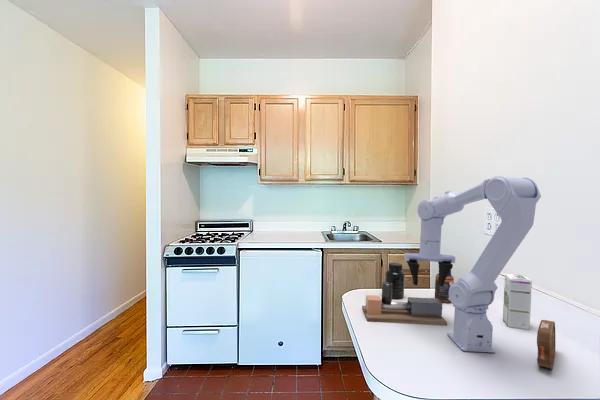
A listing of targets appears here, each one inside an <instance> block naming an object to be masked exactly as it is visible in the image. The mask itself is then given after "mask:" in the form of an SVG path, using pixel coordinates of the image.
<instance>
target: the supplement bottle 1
mask: <svg viewBox="0 0 600 400" xmlns="http://www.w3.org/2000/svg"><path fill="white" fill-rule="evenodd" d="M387 268H388V269H387V270H386V271H385V276H384V282H389V283H392V300H401V299H403V298H404V295H405V277H406V275H405V273H404V271H403V264H402V263H400V262H389V263H388V267H387Z"/></svg>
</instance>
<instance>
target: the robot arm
mask: <svg viewBox="0 0 600 400" xmlns="http://www.w3.org/2000/svg"><path fill="white" fill-rule="evenodd" d="M541 197H542V195H541V193H540V190H539V187H538V184H537V183H536V181H534V180H533V179H531V178H529V177H507V176H503V175H502V176H501V175H497V176H493V177H491V178H488V179H484V180H483V181H482V182H480V183H478V184H476V185H474V186H472V187H470V188H468V189H466V190H464V191H461V192H457V191H452V190H448V191H445V192H444V194H443V195H440V196H435V197H433V199H432V200H428V199H423V200H422V201H420V202H419V204H418V205H417V215H418V217H419V218H420V219H421V221H420V240H419V242H420V243H419V252H413V253H412V252H410V253H409V252H404V254H403V256H404V258H403V259H404V261H406V263H407V265H408V267H409V270H410V273H411V278H412V284H413V285H414V286H418V284H419V283H418V282H419V280H418V279H419V270H420V265H421V264H419V261H420V262H432V263H433V262H437V263H438V273H439V279H438V285H440V286H441V287H443V286H444V282H445V279H446V277H447V275H448V273H449V272H450V270H451V271H452V269H453V268H454V267H453V266H454V265H453V264H455V263H456V256H455V255H454V254H453V255H451V254H443V253H441V246H442V245H441V241H442V226H443V225H444V220H445V218H446V217H447V216H450V215H453V214H455V213H459V212H461V211H463V210H464V207H465V205H469V204H473V203H475V202H479V201H482V200H485V199H486V200H487V201H488V202H489V204H490V205H491V207H492V208H493V209H494V211H495V213H496V214H497V216H499V219H501V222H500V223H499V225H498V227H497V228H496V230H495V231H494V233H493V235H492V237H491V238H490V240H489V242H488V243H487V245H486V246H485V247H484V249H483V251H482V252H481V254H480V256H479V257H478V259H477V260H476V262H475V264H474V265H473V266H472V268H471V270H470V271H469V272H466V274H463V275H462V276H460V277H459V279H458V280H457V281H456V282H454V284H452V285H451V286H450V288H449V298H450V301H451V302H450V303H451V304H452V307H454V313H453V315H454V317H453V318H454V319H453V332H451V331H447V333H446V334H447V335H448V337H449V338H451V340H452V341H453V342H454V343H455V345H456V346H457V347H458V348H459V349H460V351H463V352H476V353H477V352H478V353H479V352H480V353H496V349H494V348H493V347H492V346H493V344H492V343H493V331H494V329H493V328H494V327H493V324H492V323H491V321H490V319H489V318H488V315H487V311H488V310H489V306H490V305H492V304H493V302H494V300H495V294H496V291H497V290H498V286H497V283H496V282H495V281H496V280H497V278H498V277H499V275H500V274H501V273H502V271H503V270H504V268H505V267H506V265H507V263H508V262H509V261H510V259H511V258H512V256H513V255H514V254H515V252H516V250H517V249H518V247H519V246H520V245H521V244H522V242H523V241H524V239H526V236H527V235H528V233H529V232H530V230H531V229H532V227H533V226H534V221H535V215H536V207H537V203H538V202H539V200H540V199H541Z"/></svg>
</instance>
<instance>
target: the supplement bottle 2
mask: <svg viewBox="0 0 600 400" xmlns="http://www.w3.org/2000/svg"><path fill="white" fill-rule="evenodd" d="M438 279H439V272H438V273H437V274H436V275H435V282H434V298H436V299H438V300H439V301H440V302H441V303H445V304H447V303H448V304H450V303H452V302H451V301H450V298H449V288H450V286H451V285H452V284H454V283H455V281H454V280H455V277H454V276H453V275H452V269H451V270H450V272H449V273H448V275H447V277H446V279H445V282H444V286H443V287H441V286H440V285H438Z"/></svg>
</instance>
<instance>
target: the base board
mask: <svg viewBox="0 0 600 400" xmlns="http://www.w3.org/2000/svg"><path fill="white" fill-rule="evenodd" d="M365 306H366V305H362V312H363V314H364V316H365V319H366V322H373V323H374V322H378V323H395V324H397V323H398V324H414V325H430V324H431V325H432V326H433V325H434V326H435V325H436V326H448V321H447V320H446V319H445V318H444V316H442V318H431V317H412V316H410V314H409V313H408V311H405V310H386V309H381V315H373V314H367V311H366V309H365Z"/></svg>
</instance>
